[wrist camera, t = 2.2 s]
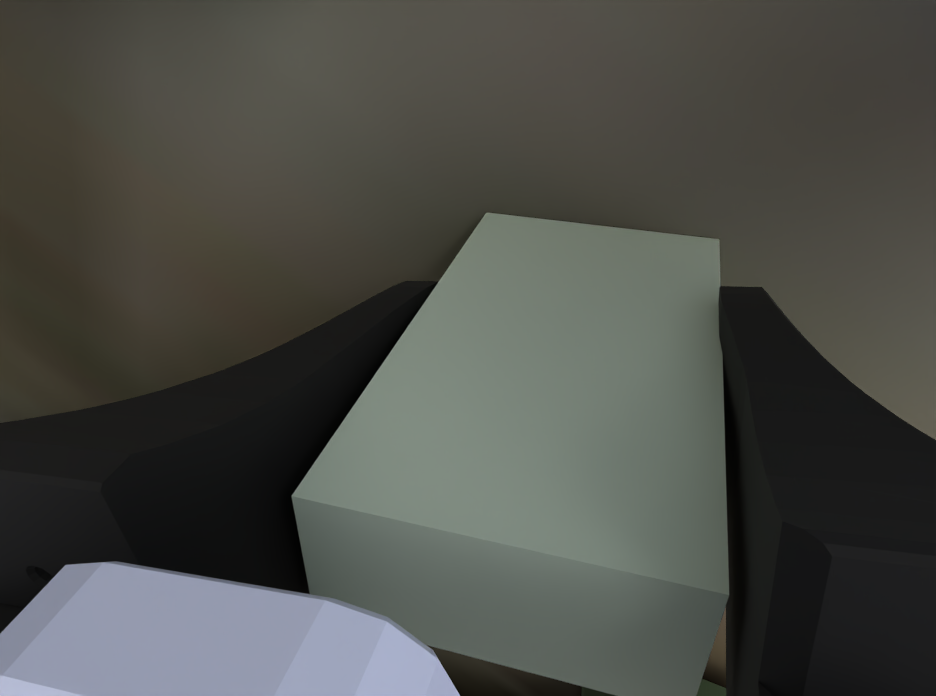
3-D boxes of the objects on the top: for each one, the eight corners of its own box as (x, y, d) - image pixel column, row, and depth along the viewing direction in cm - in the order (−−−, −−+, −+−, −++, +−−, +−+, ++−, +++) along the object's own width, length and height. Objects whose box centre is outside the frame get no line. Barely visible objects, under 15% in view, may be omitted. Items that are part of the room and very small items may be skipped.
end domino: (718, 239, 13) (730, 595, 6) (699, 332, 14) (689, 714, 7) (486, 212, 14) (291, 496, 7) (484, 301, 15) (313, 614, 8)
